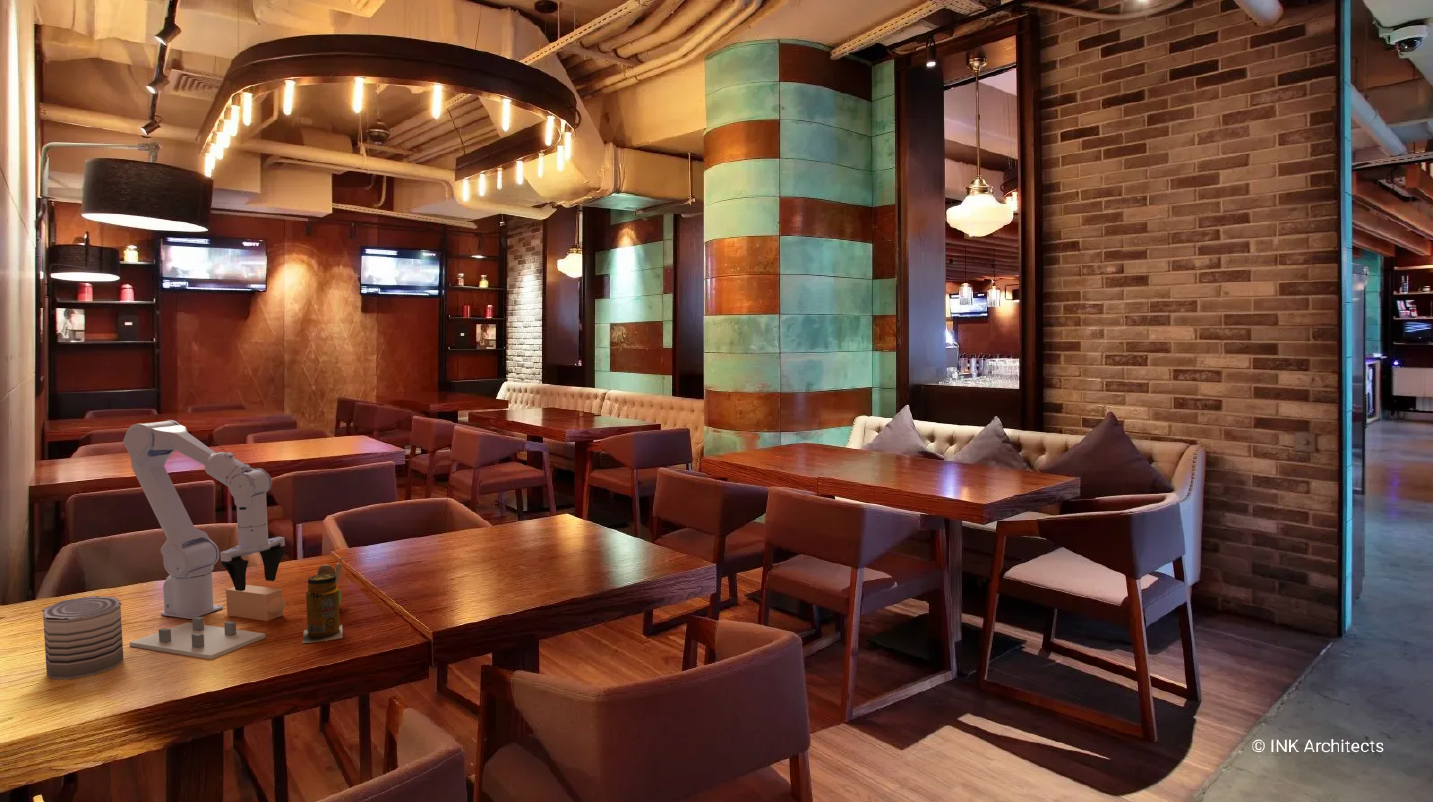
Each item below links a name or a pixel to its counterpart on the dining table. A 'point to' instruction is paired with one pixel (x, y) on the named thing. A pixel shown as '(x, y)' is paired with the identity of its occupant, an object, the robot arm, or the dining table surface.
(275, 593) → the block
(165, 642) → the cradle jig
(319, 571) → the snail figurine
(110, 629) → the can
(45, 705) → the dining table surface
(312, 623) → the condiment
